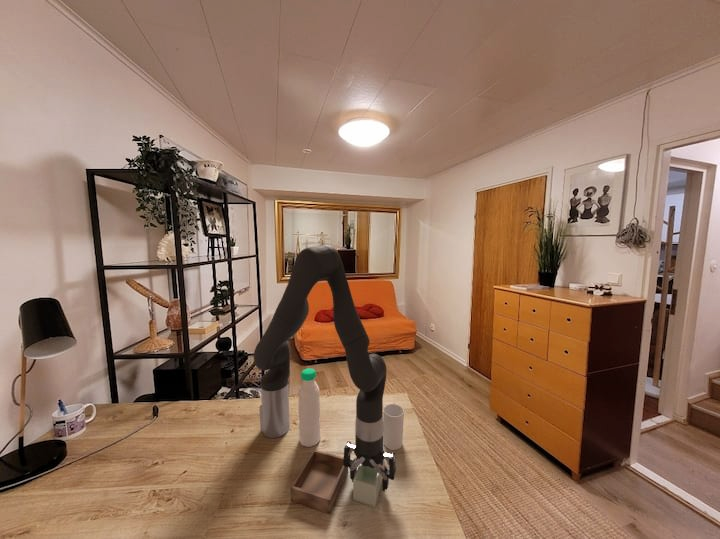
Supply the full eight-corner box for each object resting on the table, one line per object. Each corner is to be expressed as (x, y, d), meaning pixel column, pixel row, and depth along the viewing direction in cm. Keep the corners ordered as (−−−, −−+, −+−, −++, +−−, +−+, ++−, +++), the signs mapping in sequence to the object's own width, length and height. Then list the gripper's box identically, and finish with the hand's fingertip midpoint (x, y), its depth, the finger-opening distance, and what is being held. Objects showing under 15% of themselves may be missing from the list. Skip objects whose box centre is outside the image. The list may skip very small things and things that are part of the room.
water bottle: (324, 436, 94) (323, 368, 90) (312, 450, 87) (311, 378, 84) (307, 430, 96) (306, 364, 93) (295, 443, 90) (293, 373, 87)
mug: (402, 452, 87) (403, 418, 85) (382, 449, 88) (382, 415, 86) (403, 430, 97) (403, 399, 95) (384, 427, 98) (384, 397, 96)
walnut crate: (290, 501, 71) (290, 487, 70) (314, 461, 83) (313, 449, 83) (330, 514, 67) (329, 500, 67) (348, 470, 80) (348, 458, 79)
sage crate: (353, 500, 71) (353, 480, 70) (363, 472, 79) (363, 453, 79) (375, 507, 69) (375, 486, 68) (383, 477, 78) (383, 459, 77)
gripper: (339, 433, 70) (339, 489, 72) (393, 446, 66) (392, 504, 68) (349, 415, 78) (349, 466, 80) (398, 426, 73) (397, 479, 75)
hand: (369, 484), depth 74 cm, fingers open, 8 cm apart
